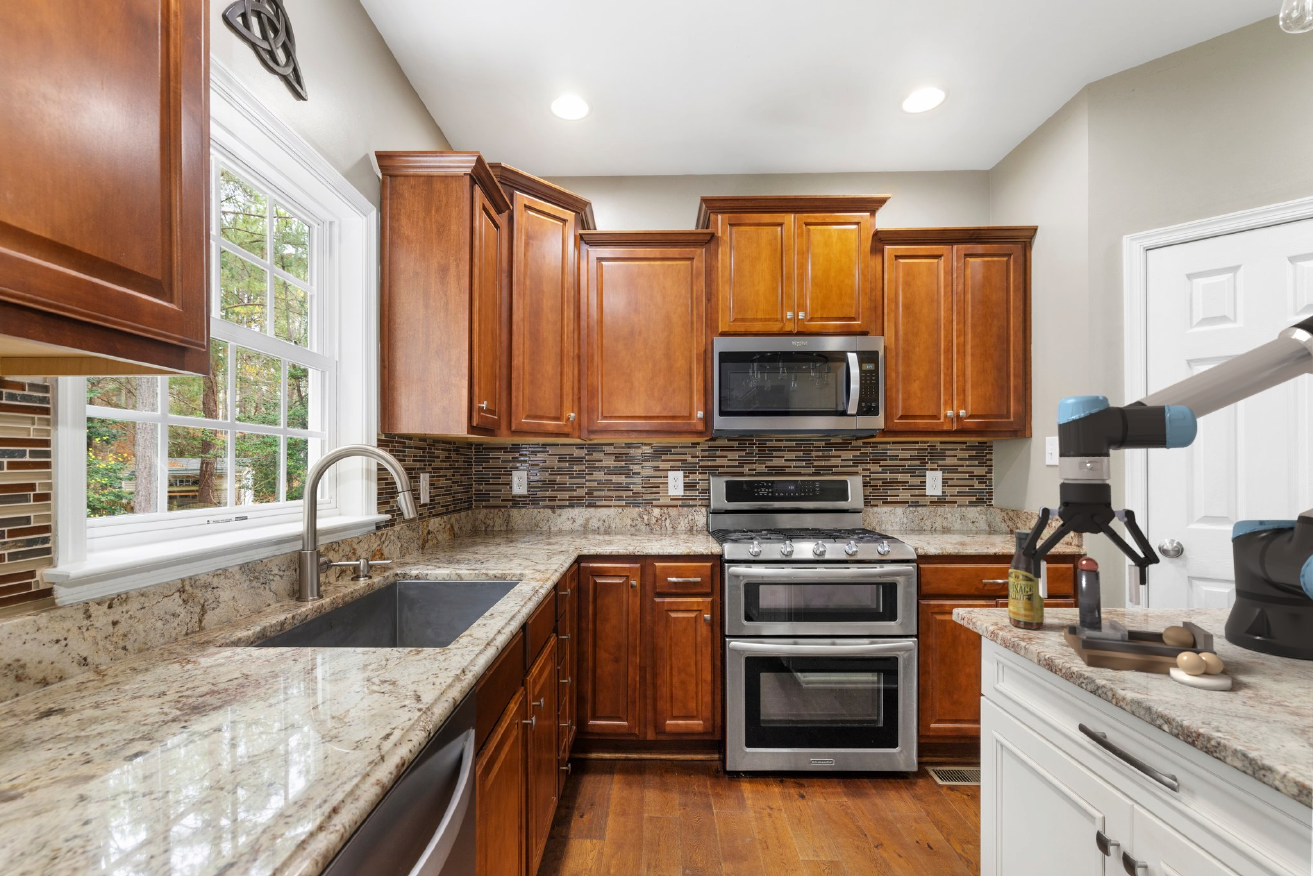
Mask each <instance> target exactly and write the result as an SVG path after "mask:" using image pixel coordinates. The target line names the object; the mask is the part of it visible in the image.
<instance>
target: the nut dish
mask: <svg viewBox="0 0 1313 876" xmlns="http://www.w3.org/2000/svg"><path fill="white" fill-rule="evenodd" d="M1176 662H1177V665H1178V667H1179V668H1172V667H1171V668H1170V675H1169V678H1170V679H1171V680H1172V679H1173V680H1172V681H1174V682H1176V681H1177V683H1178V684H1181V685H1184V686H1187V685H1188V687H1191V686H1194V687H1193V688H1195V687H1196V689H1200V688H1202V689H1201V690H1205V689H1206V691H1214V690H1218V691H1217V692H1219V690H1227V691H1230V690H1232V689H1231V688H1233V687H1232V683H1233V682H1232V678H1231V677H1229V676H1228V675H1227V676H1226V675H1224V674H1221V673H1220V672H1221V671H1222V670H1223V667H1225V666H1224V662H1223V660H1222V659H1221V658H1220V657H1219V656H1218V654H1217V655H1215V654H1213V653H1209V652H1203V653H1200V654H1196V653H1193V652H1183V653H1180V654H1179V655H1178V656H1177V659H1176Z"/></svg>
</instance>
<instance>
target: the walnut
mask: <svg viewBox="0 0 1313 876" xmlns="http://www.w3.org/2000/svg"><path fill="white" fill-rule="evenodd" d="M1162 633H1163V640H1164V641H1165V643H1166V644H1167V645H1168V646H1175V647H1186V648H1191V647H1192V646H1193V644H1194V638H1193V635H1192V634H1191V633H1190V632H1189V631H1188V630H1187V629H1185V628H1183V626H1179V625H1171V626H1167V627H1166V628H1165V629H1164V630H1163V632H1162Z"/></svg>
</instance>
